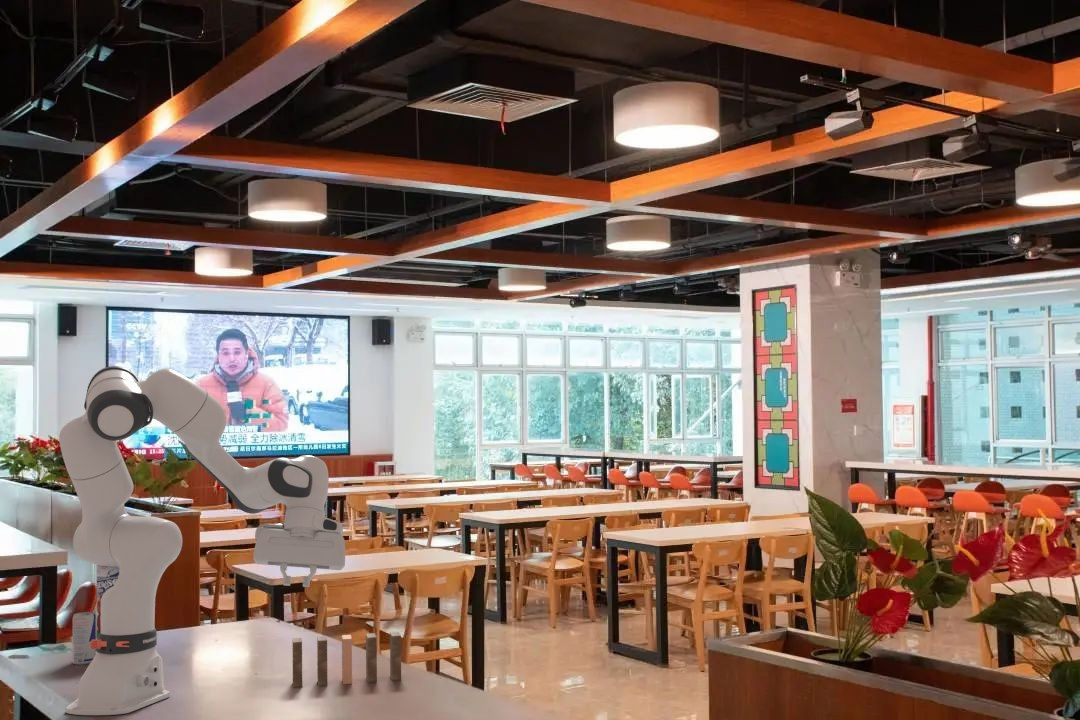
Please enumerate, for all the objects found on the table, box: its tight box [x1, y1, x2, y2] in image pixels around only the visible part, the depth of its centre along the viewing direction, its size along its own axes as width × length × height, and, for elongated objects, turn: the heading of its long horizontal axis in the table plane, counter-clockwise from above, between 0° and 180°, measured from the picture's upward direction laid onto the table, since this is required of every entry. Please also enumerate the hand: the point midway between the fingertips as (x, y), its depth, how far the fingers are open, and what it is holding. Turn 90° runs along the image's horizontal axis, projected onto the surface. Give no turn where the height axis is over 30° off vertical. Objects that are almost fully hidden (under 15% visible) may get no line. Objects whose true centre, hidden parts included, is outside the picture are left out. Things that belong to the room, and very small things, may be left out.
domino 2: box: [316, 635, 328, 687], centre depth 253 cm, size 2×5×10 cm, turn 13°
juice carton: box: [96, 565, 120, 640], centre depth 291 cm, size 9×10×27 cm
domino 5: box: [389, 631, 402, 682], centre depth 257 cm, size 2×5×10 cm, turn 14°
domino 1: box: [291, 637, 303, 689], centre depth 252 cm, size 2×5×10 cm, turn 14°
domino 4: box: [365, 632, 378, 683], centre depth 256 cm, size 2×5×10 cm, turn 14°
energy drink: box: [72, 611, 97, 666], centre depth 279 cm, size 5×5×12 cm
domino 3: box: [341, 634, 353, 685], centre depth 254 cm, size 2×5×10 cm, turn 12°
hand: (296, 585), depth 247 cm, fingers open, 3 cm apart
